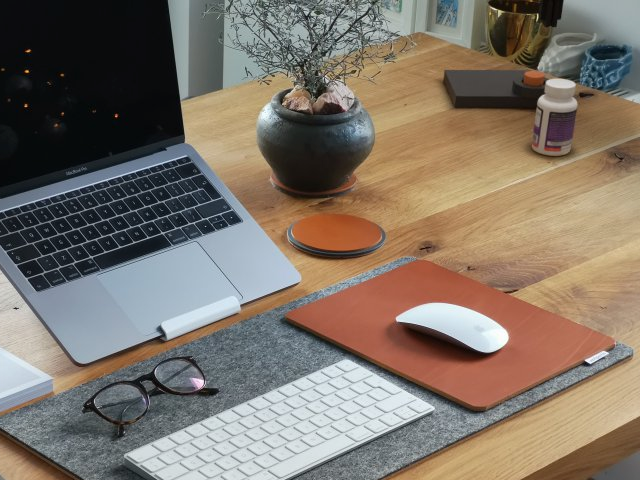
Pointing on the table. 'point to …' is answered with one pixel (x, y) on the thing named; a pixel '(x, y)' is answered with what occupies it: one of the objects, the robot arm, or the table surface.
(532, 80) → the button
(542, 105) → the pill bottle
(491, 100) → the scale
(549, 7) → the robot arm
